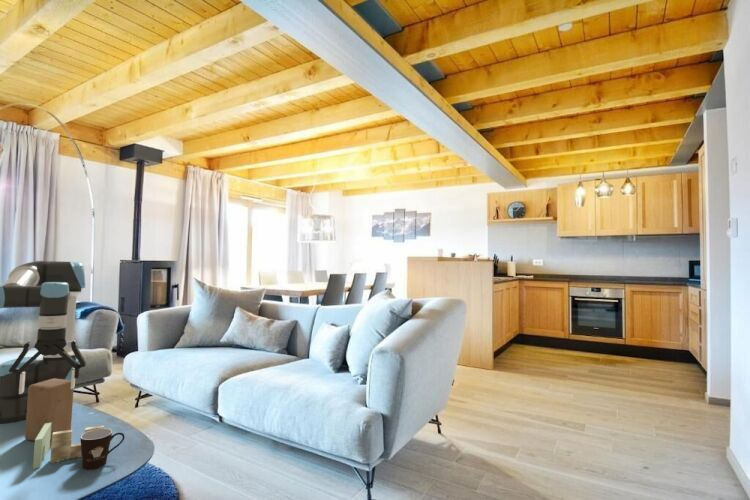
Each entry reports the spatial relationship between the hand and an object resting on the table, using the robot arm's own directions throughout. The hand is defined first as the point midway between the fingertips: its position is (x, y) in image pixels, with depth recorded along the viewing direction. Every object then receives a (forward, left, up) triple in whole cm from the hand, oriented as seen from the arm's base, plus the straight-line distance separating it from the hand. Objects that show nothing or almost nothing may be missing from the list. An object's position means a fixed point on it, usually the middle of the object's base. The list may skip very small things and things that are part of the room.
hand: (47, 390), depth 134 cm
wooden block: (-17, +1, -22) cm, 28 cm away
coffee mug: (+17, +14, -22) cm, 31 cm away
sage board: (+1, 0, -22) cm, 22 cm away
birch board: (+7, +9, -22) cm, 25 cm away
